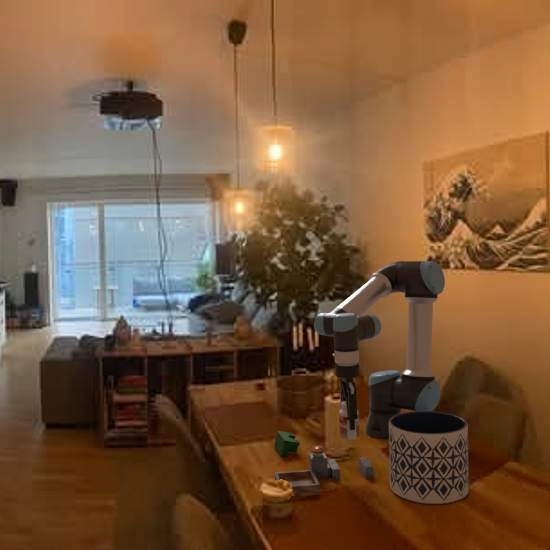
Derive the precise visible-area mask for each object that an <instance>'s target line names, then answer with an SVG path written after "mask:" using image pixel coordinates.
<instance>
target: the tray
mask: <svg viewBox="0 0 550 550" xmlns="http://www.w3.org/2000/svg"><path fill="white" fill-rule="evenodd" d="M273 473H274V474H273V475H274V481H275V480H280V479H283V480H286V481H288V482H290V483H291V484H292V485H291V487H292V489H293V493H294V495H295V496H296V497H307V496H319V495H320V493H321V491H320V482H319V479H317V478H316V476H315V473H314V471H313V470H309V469H305V470H304V469H302V470H291V471H289V470H287V471H278V472H277V471H276V472H273Z"/></svg>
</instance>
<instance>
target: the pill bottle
mask: <svg viewBox="0 0 550 550" xmlns="http://www.w3.org/2000/svg"><path fill="white" fill-rule="evenodd" d="M340 406H341V407H340V410H339V411H338V415H339V416H338V421H339V437H340V439H341V440H346V441H349V440H348V437H347V420H346V419H345V418H347V417H348V416H347V406H346V401H343V402H341V401H340ZM359 412H360V411H359V410H358V409H357V416H358V419H356V434H357V439H359V437H360V415H359V414H360V413H359Z"/></svg>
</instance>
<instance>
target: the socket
mask: <svg viewBox="0 0 550 550" xmlns="http://www.w3.org/2000/svg"><path fill="white" fill-rule="evenodd" d="M308 467H309V468H308V470H313V471H314V473H315V476H316V478H317V480H329V478H330V479H331V480H332V482H334V481H335V482H336V481H341V469H340V466H339V465H338V463H337V461H336V459H335V458H331V459H328V457H327V455H326V453H325V452H323V453H322V457H320V458H314V453H308ZM358 469H359V470H360V471H361V473H362V475H363V476H364V478H365V479H374V466H373V464H372V463H371V462H370V460H369V458H368V457H367V456H360V457H358Z"/></svg>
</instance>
